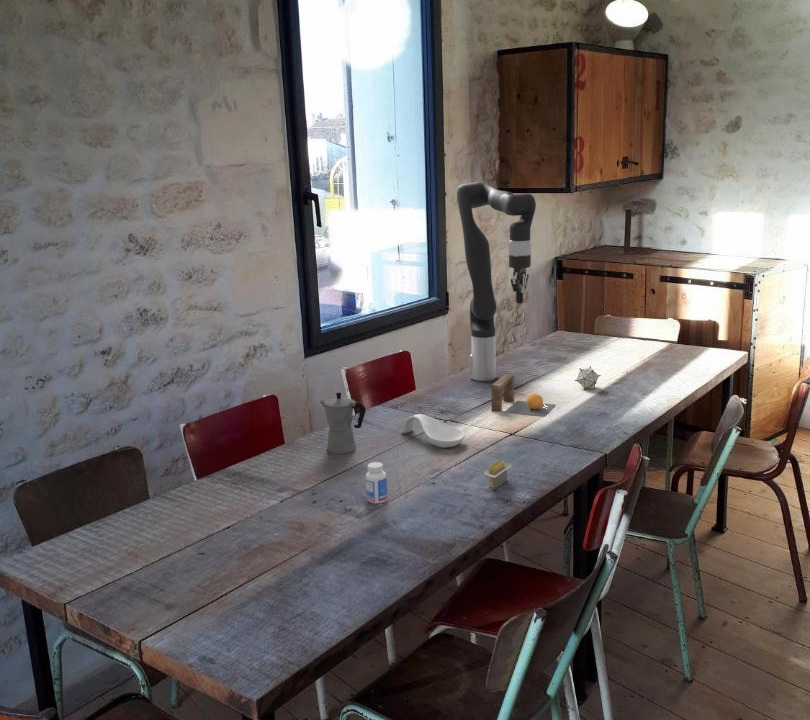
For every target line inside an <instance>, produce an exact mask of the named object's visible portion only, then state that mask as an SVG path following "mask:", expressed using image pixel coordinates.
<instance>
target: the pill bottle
mask: <svg viewBox="0 0 810 720" xmlns="http://www.w3.org/2000/svg"><path fill="white" fill-rule="evenodd" d="M387 477H388V476H387V472H385V471H384V464H383V463H382V462H379V461H374V462H370V463H368V464H367V472H366V474H365V486H366V487H365V488H366V489H365V490H366V499H367V502H368V503H371V504H382V503H385V502H386V501H388V481H387V480H388V479H387Z"/></svg>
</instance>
